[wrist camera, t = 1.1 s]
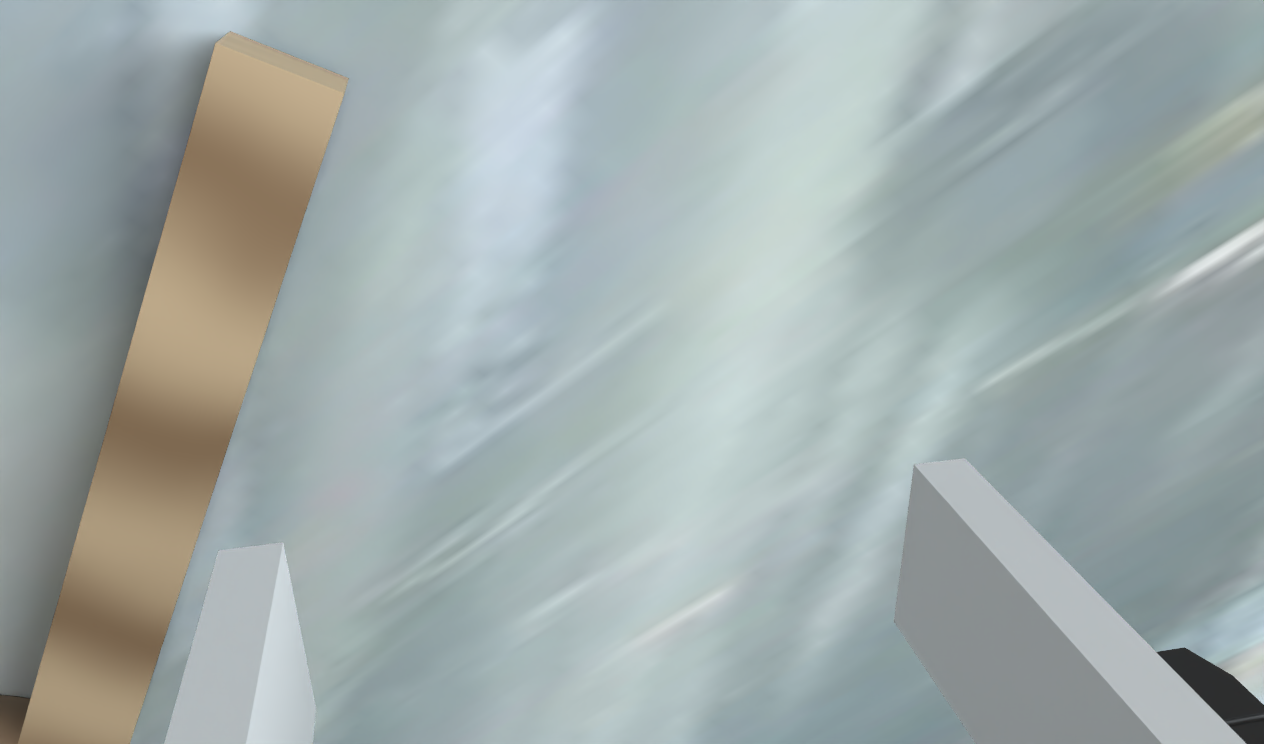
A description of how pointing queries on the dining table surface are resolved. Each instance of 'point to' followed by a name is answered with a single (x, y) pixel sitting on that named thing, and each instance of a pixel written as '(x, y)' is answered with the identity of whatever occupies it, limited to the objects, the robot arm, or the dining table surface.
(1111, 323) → the dining table surface
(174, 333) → the tongs swing jaw
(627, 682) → the dining table surface
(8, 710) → the bar
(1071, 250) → the dining table surface
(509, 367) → the dining table surface
